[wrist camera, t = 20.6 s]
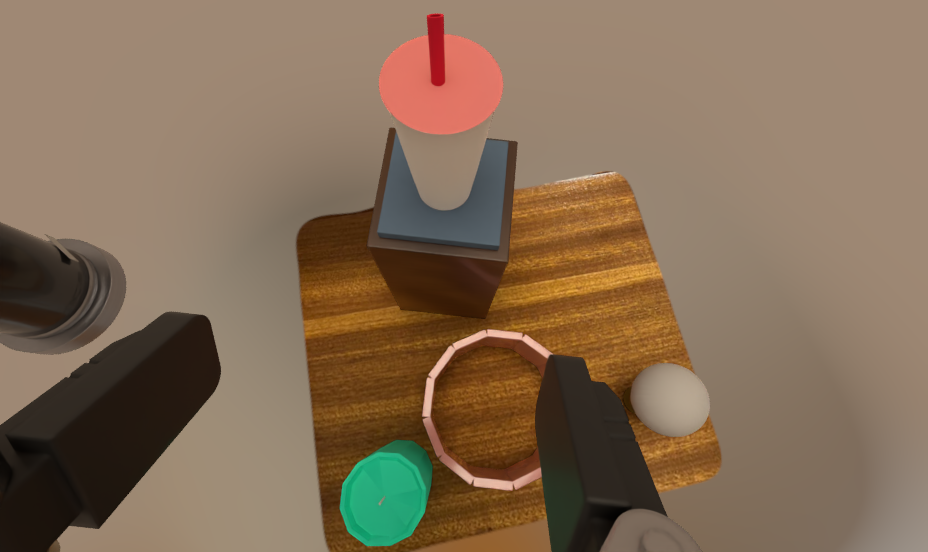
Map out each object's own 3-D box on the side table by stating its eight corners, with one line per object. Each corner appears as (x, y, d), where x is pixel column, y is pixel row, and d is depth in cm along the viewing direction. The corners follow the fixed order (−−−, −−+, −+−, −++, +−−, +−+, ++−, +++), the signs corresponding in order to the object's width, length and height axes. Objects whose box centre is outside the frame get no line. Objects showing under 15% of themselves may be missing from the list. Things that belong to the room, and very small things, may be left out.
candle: (358, 496, 37) (318, 537, 26) (383, 430, 39) (355, 441, 28) (420, 519, 37) (406, 571, 25) (442, 451, 39) (438, 471, 27)
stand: (400, 309, 43) (366, 246, 26) (412, 231, 45) (389, 126, 28) (485, 319, 43) (508, 262, 25) (492, 240, 45) (517, 141, 28)
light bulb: (603, 366, 42) (649, 355, 32) (660, 372, 42) (723, 363, 32) (603, 427, 40) (651, 435, 30) (663, 434, 40) (730, 443, 30)
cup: (408, 146, 27) (377, -44, 15) (489, 155, 27) (517, -30, 15) (396, 220, 25) (351, 67, 14) (482, 229, 25) (508, 84, 14)
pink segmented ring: (418, 468, 38) (413, 479, 32) (436, 333, 42) (434, 322, 36) (554, 483, 38) (572, 497, 32) (559, 347, 42) (576, 338, 36)
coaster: (379, 237, 26) (376, 232, 25) (397, 136, 28) (396, 129, 27) (498, 250, 26) (499, 246, 25) (507, 148, 28) (508, 141, 27)
